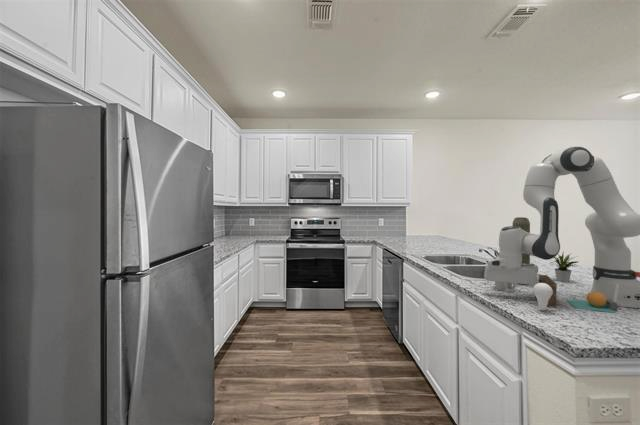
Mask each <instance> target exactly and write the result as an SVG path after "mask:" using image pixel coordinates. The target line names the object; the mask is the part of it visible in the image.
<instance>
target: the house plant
mask: <svg viewBox="0 0 640 425" xmlns="http://www.w3.org/2000/svg"><path fill="white" fill-rule="evenodd" d="M564 253H565V252H564V251H562V254H561V255H560V254H559V253H558V254H557V256H558V257H556V256H555V257H554V258H553V259H554V262H553V261H551V262H549V264H550V265H553V266H557V268H555V267H554V271H555V272H554V273H555V277H556V278H555V279H556V281H557V280H558V281H557V282H560V281H562V282H561V283H569V282H570V279H571V277H572V276H571V274H572V270H571V269H570V267H573V266H574V267H575V268H577V267H578V265H577V264H576V263H578V260H576V261H575V260H574V259H575V258H576V257H579V255H578V256H577V255H576V256H573V257H570V256H571V253H569V254H567V255H566V256H565V257H564ZM572 260H574V261H572ZM568 268H569V269H568Z"/></svg>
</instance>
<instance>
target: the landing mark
mask: <svg viewBox="0 0 640 425" xmlns="http://www.w3.org/2000/svg"><path fill="white" fill-rule="evenodd" d="M565 301H567V302H568V303H569V304H570V305H571V306H572V307H573V308H575V309H579V310H586V311H587V310H588V311H596V312H603V313H604V312H605V313H613V314H616V312H617V311H613V310H610V309H609V308H607V307H606V306H602V307H595V306H592V305H591V304H589V303H588V301H587V300H586V301H585V300H579V299H578V300H577V299H570V298H565Z"/></svg>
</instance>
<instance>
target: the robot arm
mask: <svg viewBox="0 0 640 425" xmlns="http://www.w3.org/2000/svg"><path fill="white" fill-rule="evenodd" d="M568 175H573V176H574V178H575V179H576V180H577V181H576V182H577V184H578V186H579V189H580V192H581V194H582V196H583V198H584V201H585V203H586V204H587V205H588V206H590V208H592V210H594V212H592V213H590V214H588V215H587V216H586V218H585V219H584V220H585V221H584V223H585V224H584V225H585V227H586V228H587V229H588V230H589V234H590V237H591V239H592V243H593V247H594V265H593V267H592V278H593V282H592V287H591V290H590V292H599V293H601V294H603V295H604V296H605V297H606V299H611V300H613V301H614V302H616V303H617V307H623V308H636V309H638V308H639V309H640V280H639V279H637V278H640V272H639V271H635V270H633V269H632V251H631V249H630V248H629V247H628V246H627V244H626V241H625V238H633V237H638V236H640V214H638V213H637V212H636V211H635V210H634V209H632V207H631V206H630V204H628V202H627V201H626V200H625V198H624V197H623V196H622V195H621V192H620V191H619V188H618V186H617V184H616V181H615V180H614V177H613V175H612V173H611V171H610V169H609V167H608V166H607V165H606V163H605V161H604V160H603V159H602V158H601V157H598V156H594V155H593V154H592V152H590V150H588V149H587V148H585V147H582V146H570V147H567V148H565V149H561V150H558V151H556V152H555V153H553V154H552V153H551V154H549V155H548V156H546V157H544V159H543V160H542V161H541V162H539V163H535V164H533V165H531V166H530V168H529V169H528V172H527V175H526V178H525V181H524V187H523V190H522V191H523V194H522V196H523V200H524V202H525V203H526V204H528V205H529V206H530V207H532V208H534V209H535V210H537V211H538V214H540V222H539V224H540V227H539V229H540V230H539V234H536V233H531V232H530V233H528V232H526V231H524V230H522V229H521V228H520V227H518V226H513V225H511V226H509V225H508V226H504V227H502V228H501V229H500V231H499V237H498V247H499V252H498V256H497V257H491V258H488V259H487V264H486V266H485V268H484V273H483V274H484V276H483V277H484V278H483V279H485V281H487V282H495V281H497V282H503V284H504V286H505V287H506V291H505V292H506V293H512V294H513V293H515V289H516V288H517V287H518V285H519V284H528V285H527V286H535V285H536V284H538V273H539V266H538V265H536V264H535V263H533V262H532V263H531V262H530V264H528V263H522V254H523V253H524V254H528V255H530V257H535V258H538V259H542V260H544V261H547V260H548V261H549V260H552V259H555V258H556V257H557V256H558V254H559V253H560V250H561V244H560V238H559V220H560V219H559V216H560V215H559V204H558V202H557V200H556V198H555V189H556V182H557V179H558V177H560V176H561V177H562V176H568ZM554 257H555V258H554ZM507 283H512V288H507V286H506V285H507ZM517 283H518V284H517Z"/></svg>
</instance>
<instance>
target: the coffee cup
mask: <svg viewBox="0 0 640 425" xmlns="http://www.w3.org/2000/svg"><path fill="white" fill-rule="evenodd" d="M506 286H507V288H512V287H513V283H507V285H506ZM494 288H495V289H496V290H498V291H502V290H503V292H506V287H505V286H504V284H503V282H497V281H494Z"/></svg>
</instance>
